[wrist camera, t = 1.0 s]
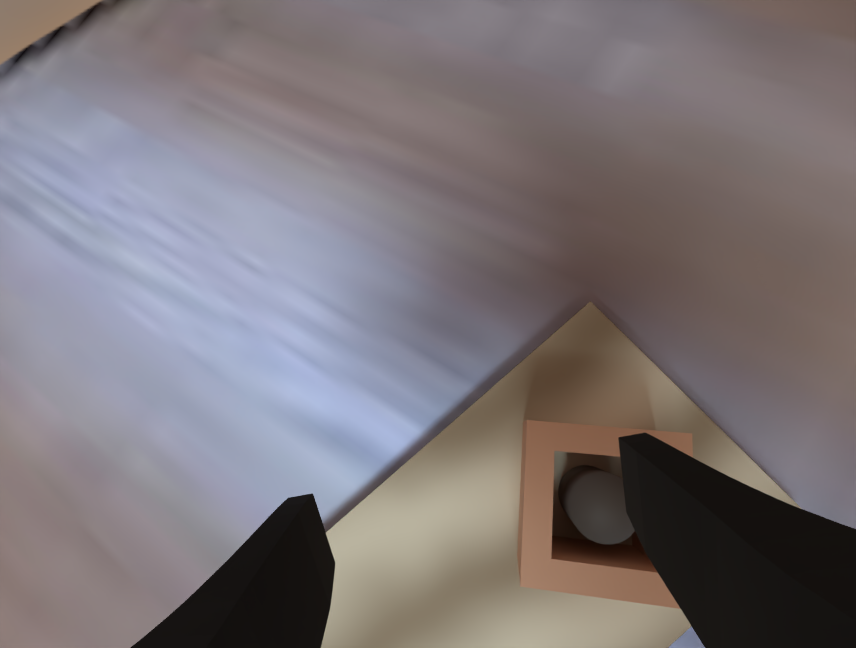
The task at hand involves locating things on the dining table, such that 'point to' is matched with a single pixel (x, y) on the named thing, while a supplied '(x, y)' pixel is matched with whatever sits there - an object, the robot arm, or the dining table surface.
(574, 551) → the collar
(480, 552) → the board
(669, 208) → the dining table surface
